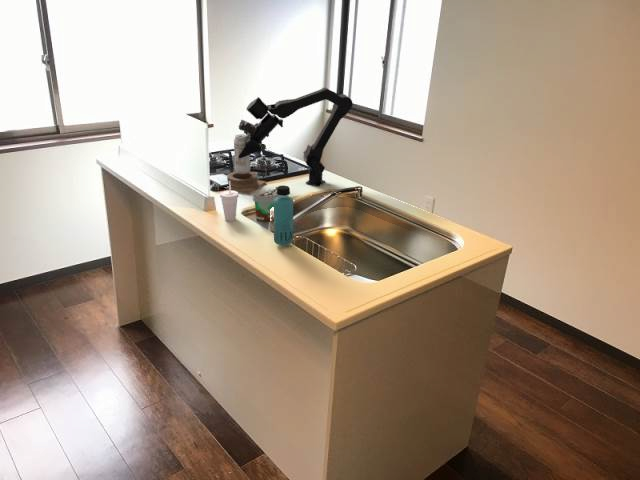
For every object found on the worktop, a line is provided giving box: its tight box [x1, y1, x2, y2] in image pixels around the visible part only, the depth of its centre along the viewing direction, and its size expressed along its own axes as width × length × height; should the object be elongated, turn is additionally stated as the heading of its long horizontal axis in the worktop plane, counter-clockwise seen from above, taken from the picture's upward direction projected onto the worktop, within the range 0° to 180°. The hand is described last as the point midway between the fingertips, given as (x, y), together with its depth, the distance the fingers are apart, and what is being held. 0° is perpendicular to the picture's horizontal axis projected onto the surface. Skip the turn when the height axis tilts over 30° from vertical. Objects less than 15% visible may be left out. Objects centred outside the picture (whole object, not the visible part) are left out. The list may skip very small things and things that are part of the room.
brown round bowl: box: [224, 170, 267, 195], centre depth 219 cm, size 14×14×4 cm
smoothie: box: [219, 181, 239, 222], centre depth 186 cm, size 6×6×14 cm
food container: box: [252, 186, 280, 223], centre depth 188 cm, size 12×6×10 cm, turn 143°
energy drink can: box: [233, 133, 251, 174], centre depth 214 cm, size 6×6×15 cm
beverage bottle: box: [273, 185, 295, 246], centre depth 167 cm, size 6×7×20 cm
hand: (238, 155), depth 213 cm, fingers closed on energy drink can, 6 cm apart
